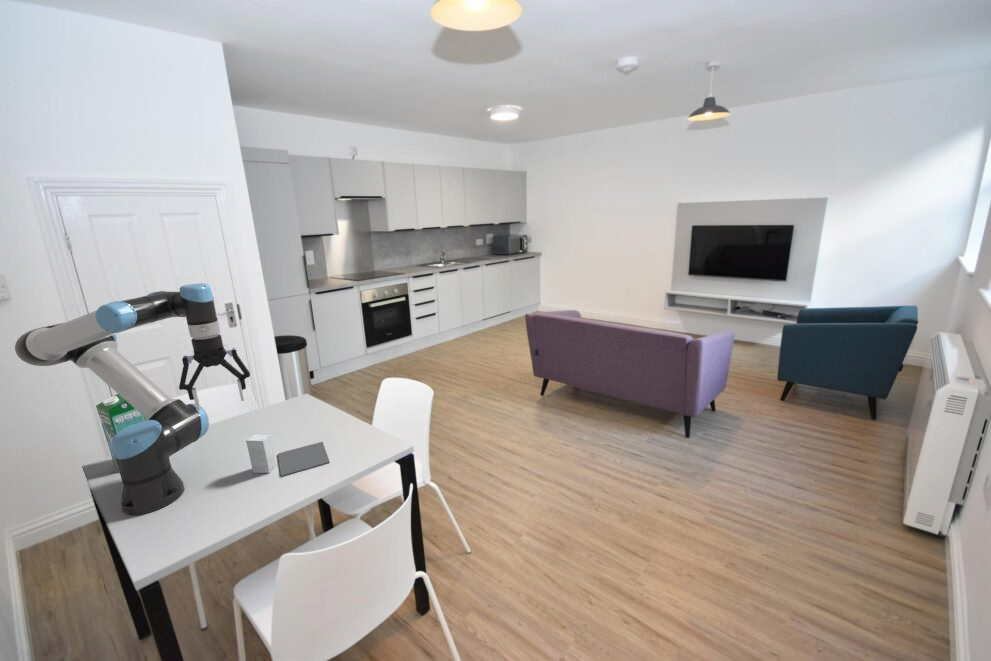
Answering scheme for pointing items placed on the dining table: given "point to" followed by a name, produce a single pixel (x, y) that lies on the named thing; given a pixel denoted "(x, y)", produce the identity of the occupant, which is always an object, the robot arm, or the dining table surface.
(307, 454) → the mat
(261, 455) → the skincare box
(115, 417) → the milk carton
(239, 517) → the dining table surface
